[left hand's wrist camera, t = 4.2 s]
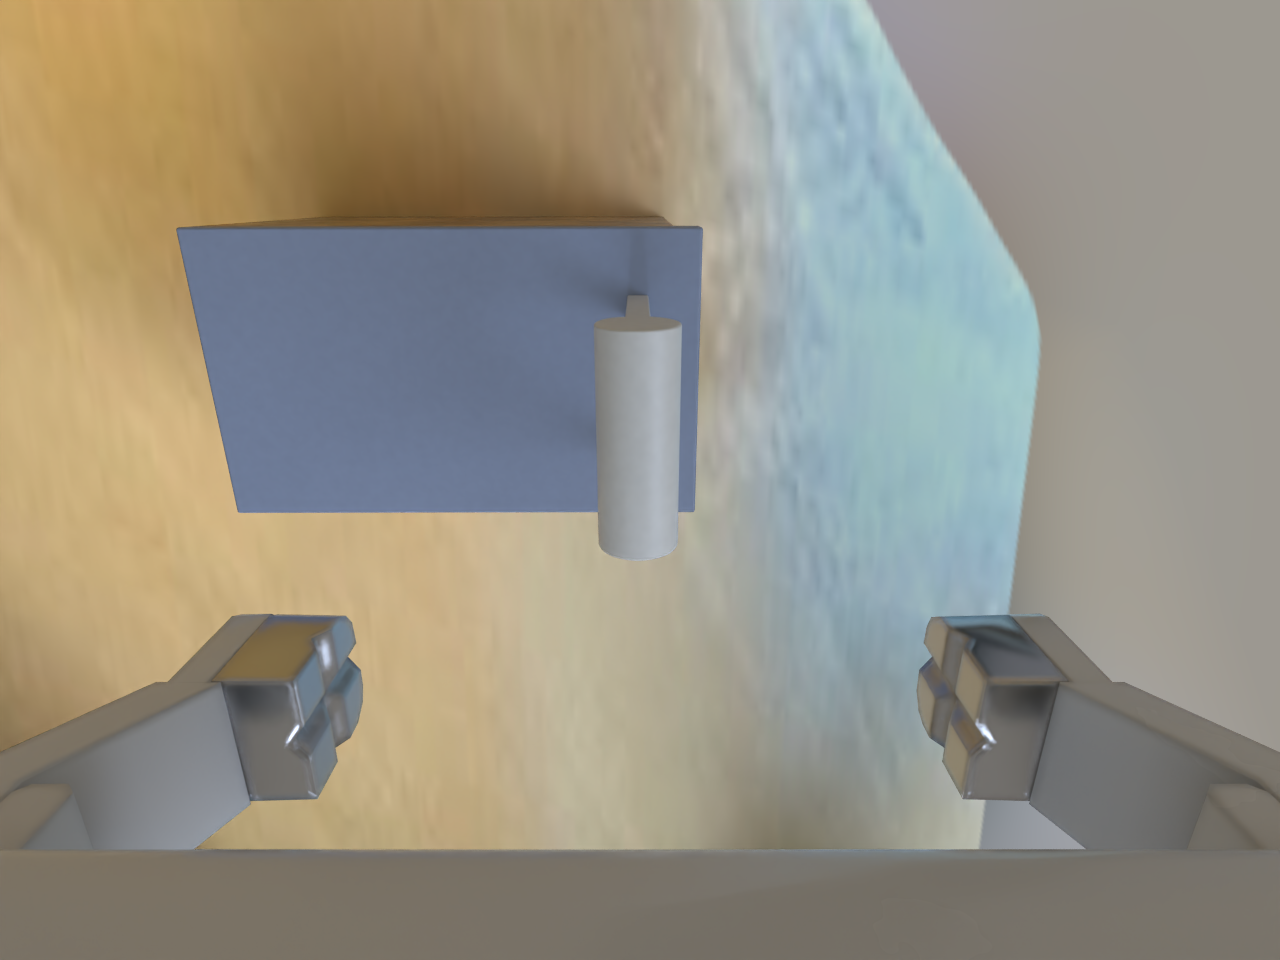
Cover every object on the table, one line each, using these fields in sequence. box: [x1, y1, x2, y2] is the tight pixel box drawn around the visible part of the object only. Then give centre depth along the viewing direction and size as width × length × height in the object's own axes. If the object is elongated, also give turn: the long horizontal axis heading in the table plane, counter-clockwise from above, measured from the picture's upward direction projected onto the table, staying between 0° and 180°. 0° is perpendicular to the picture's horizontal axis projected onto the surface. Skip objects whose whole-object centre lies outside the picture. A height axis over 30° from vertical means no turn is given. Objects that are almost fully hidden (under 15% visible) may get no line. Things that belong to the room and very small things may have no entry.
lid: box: [177, 226, 703, 561], centre depth 22 cm, size 17×10×9 cm, turn 90°
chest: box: [207, 217, 673, 226], centre depth 32 cm, size 16×10×11 cm, turn 90°
